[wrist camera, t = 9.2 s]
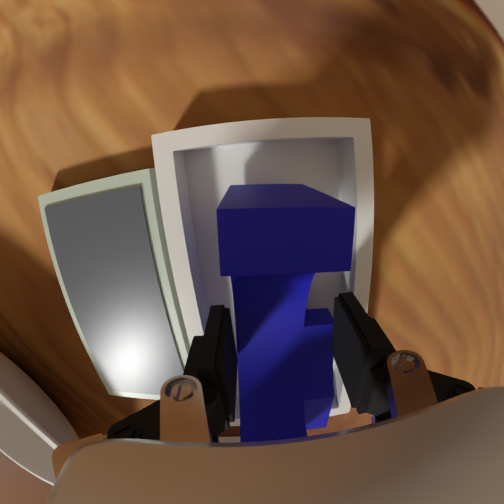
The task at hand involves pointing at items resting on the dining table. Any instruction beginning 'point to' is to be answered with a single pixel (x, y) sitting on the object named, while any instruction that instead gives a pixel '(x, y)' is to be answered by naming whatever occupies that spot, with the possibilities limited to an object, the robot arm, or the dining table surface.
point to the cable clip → (282, 302)
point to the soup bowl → (30, 422)
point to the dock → (261, 172)
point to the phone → (118, 280)
